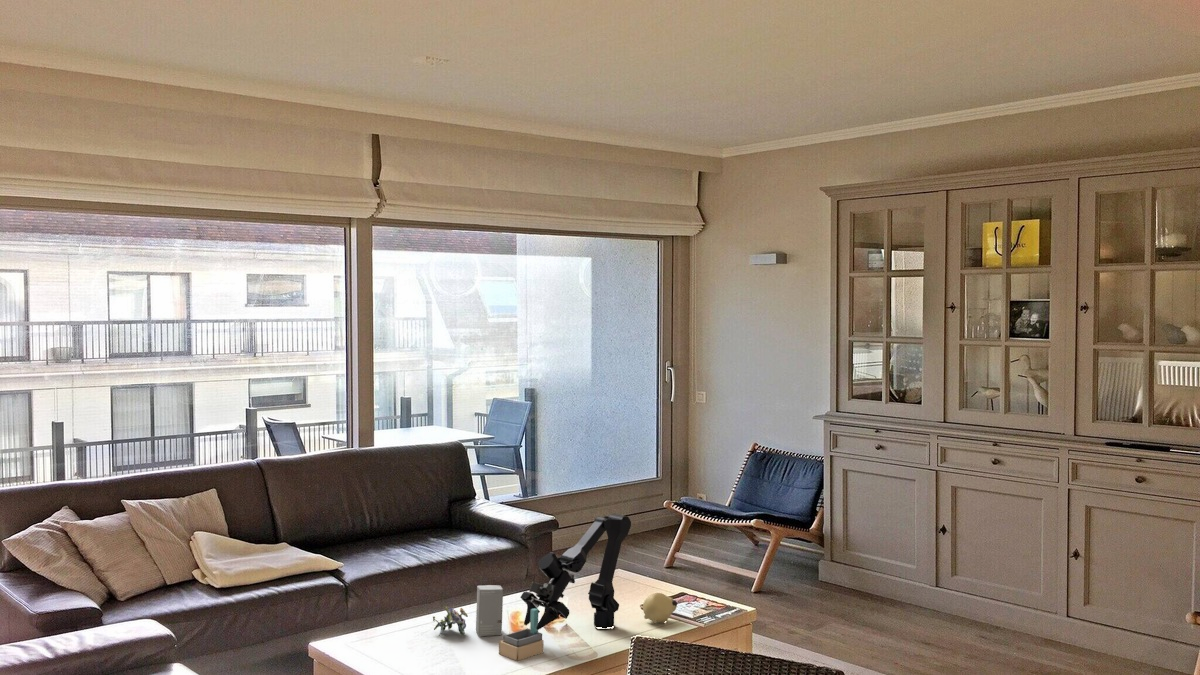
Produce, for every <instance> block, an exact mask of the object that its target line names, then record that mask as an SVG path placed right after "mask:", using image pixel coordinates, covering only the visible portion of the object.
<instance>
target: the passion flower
mask: <svg viewBox="0 0 1200 675" xmlns="http://www.w3.org/2000/svg"><path fill="white" fill-rule="evenodd" d="M444 609H445V611H446V612H447V615H445V616H443V617H444V620H443V619H441V620H440V622H439V621H438V620H437V619H436V617H435V616H432V619H433V620H432V621H433V622H435V621H436V623H437V624H436V625H435V627H434V628H433V631H435V630H436V629H437V628H439V627H440V631H439V632H440V633H439V635H438V636H441V634H442V633H443V632H444V631H445V630H446V628H448V630H451V629H452V627H453V625H455V624H456V625H457V629H458V632H459V633H460V634H461V635H463V636H464V634H465V635H466V632H465V629H466V627H467V623H466V619H465V618H463V616H464V617H466V618H468V614H467V613H466V610H465V609H464V608H462V607H460V608H459V612H460V613H459V612H458V610H456V609H454V608H451V607H450V608H448V606H445V607H444ZM462 615H463V616H462Z"/></svg>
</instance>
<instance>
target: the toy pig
mask: <svg viewBox="0 0 1200 675" xmlns="http://www.w3.org/2000/svg"><path fill="white" fill-rule="evenodd" d="M677 606H678V602H677V601H676V600H674V599H673V597H671V596H668V595H666V594H664V593H662V592H654V593H652V594H650V595H648V596H647V598H645V600H644V602H643V605H642V610H643V614H644V616H643V618H644V620H650V621H651V622H653V623H655V624H656V623H663V622H665V621H667V622H668V620H669V619H670V617H671V615H672V614H673V613H674V612H675V611H676V610H677Z"/></svg>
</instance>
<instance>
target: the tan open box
mask: <svg viewBox="0 0 1200 675" xmlns="http://www.w3.org/2000/svg"><path fill="white" fill-rule="evenodd" d="M544 642H545V641H544V639H542V640H540V641H537V642H534V643H530V644H527V645H524V646H521V647H515V646H513V645H510V644H507V643H505V642H503V640H499V642H498V654H499V655H501V656H504V657H505V658H506V657H507V658H508V659H511V660H514V661H516V662H518V660H519V661H521V659H522V660H525V659H528V658H531V657H534V656H533V655H535V656H538V655H540V653H541V654H543V653H544ZM537 654H538V655H537ZM530 656H531V657H530ZM527 657H528V658H527ZM524 658H525V659H524Z"/></svg>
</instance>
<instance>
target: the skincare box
mask: <svg viewBox="0 0 1200 675" xmlns="http://www.w3.org/2000/svg"><path fill="white" fill-rule="evenodd" d="M503 601H504V588H503V587H502V586H501V584H500V585H499V584H498V585H497V584H496V585H492V584H487V585H477V586H476V610H475V611H476V612H475V613H476V614H475V616H476V617H475V618H476V619H475V632H476V633H477V635H478V638H479V637H481V638H482V637H491V636H501V635H502V632H503V631H502V630H503V628H502V627H503V605H504V603H503Z"/></svg>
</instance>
